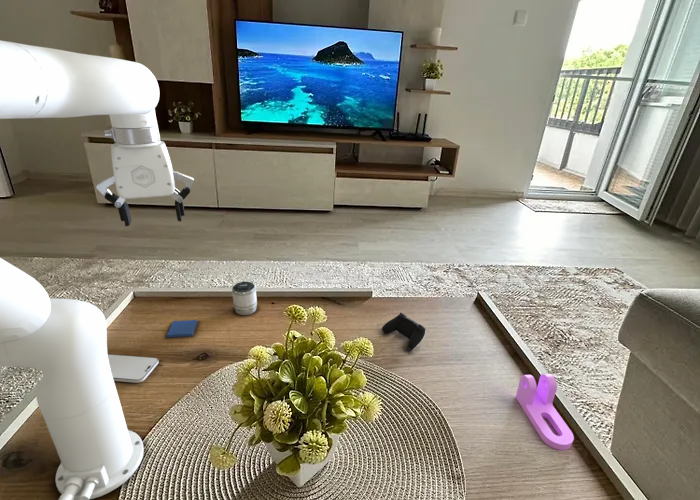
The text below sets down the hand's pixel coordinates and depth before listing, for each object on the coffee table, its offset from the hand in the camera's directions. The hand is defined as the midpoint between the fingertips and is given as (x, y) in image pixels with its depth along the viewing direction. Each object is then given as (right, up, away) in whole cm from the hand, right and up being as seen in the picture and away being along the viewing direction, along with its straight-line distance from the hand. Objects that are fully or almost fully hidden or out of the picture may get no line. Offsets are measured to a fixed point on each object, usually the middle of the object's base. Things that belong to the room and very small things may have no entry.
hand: (154, 221), depth 81 cm
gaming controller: (+54, -28, +20) cm, 64 cm away
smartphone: (-11, -33, +6) cm, 35 cm away
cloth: (-3, -26, +20) cm, 33 cm away
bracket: (+78, -40, -4) cm, 88 cm away
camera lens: (+11, -23, +30) cm, 39 cm away
